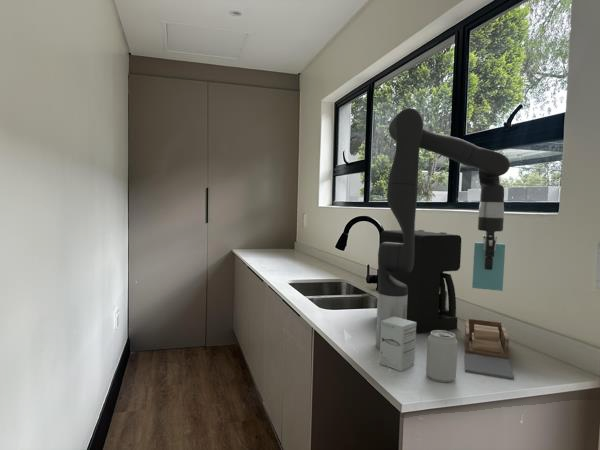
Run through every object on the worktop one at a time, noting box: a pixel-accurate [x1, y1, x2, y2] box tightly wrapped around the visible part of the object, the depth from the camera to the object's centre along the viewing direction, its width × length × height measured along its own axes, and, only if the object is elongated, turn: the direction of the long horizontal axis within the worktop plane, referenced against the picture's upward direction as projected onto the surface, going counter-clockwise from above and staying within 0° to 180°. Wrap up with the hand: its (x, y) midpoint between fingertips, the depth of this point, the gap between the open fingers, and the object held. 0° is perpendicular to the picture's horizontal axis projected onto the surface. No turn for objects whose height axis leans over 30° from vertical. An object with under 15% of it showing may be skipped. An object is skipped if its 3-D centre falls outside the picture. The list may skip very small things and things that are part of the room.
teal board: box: [471, 241, 506, 292], centre depth 138 cm, size 3×9×15 cm, turn 69°
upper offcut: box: [474, 324, 499, 342], centre depth 133 cm, size 6×7×3 cm
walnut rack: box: [464, 317, 510, 359], centre depth 135 cm, size 16×12×7 cm
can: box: [425, 330, 459, 383], centre depth 110 cm, size 8×8×12 cm
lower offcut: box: [472, 333, 501, 353], centre depth 133 cm, size 7×8×3 cm
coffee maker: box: [380, 229, 462, 335], centre depth 160 cm, size 28×20×35 cm
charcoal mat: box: [464, 352, 515, 380], centre depth 119 cm, size 14×12×1 cm
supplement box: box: [378, 317, 417, 372], centre depth 118 cm, size 7×7×13 cm
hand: (488, 268), depth 138 cm, fingers closed on teal board, 3 cm apart
